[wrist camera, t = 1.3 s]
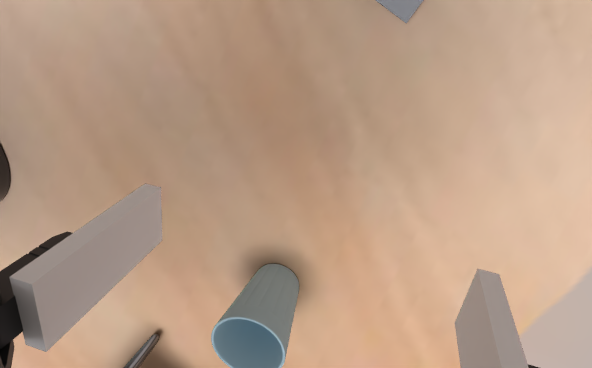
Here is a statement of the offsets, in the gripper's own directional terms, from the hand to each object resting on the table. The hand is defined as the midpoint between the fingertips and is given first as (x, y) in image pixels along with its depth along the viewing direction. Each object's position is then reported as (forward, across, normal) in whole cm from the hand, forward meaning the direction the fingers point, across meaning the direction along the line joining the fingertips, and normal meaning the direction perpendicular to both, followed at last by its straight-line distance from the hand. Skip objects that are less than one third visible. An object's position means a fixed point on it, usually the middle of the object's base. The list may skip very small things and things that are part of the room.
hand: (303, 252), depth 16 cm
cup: (+24, -6, -23) cm, 33 cm away
